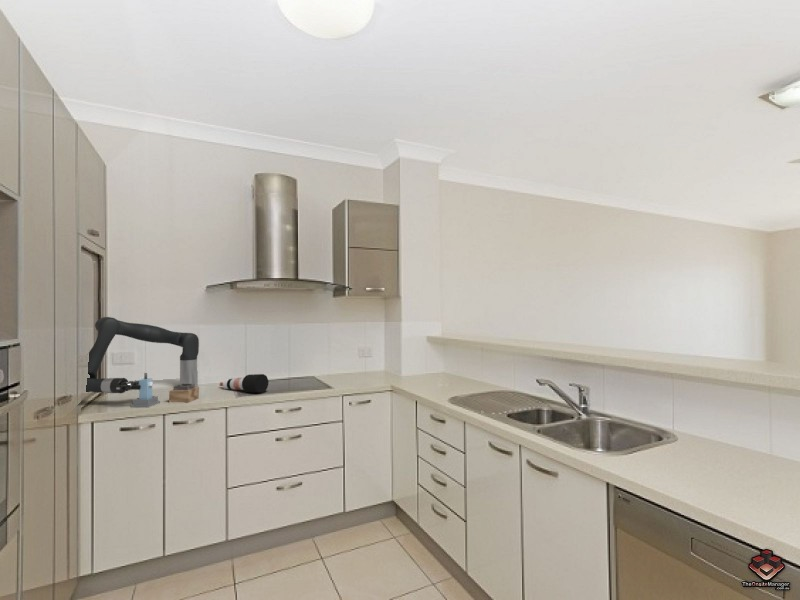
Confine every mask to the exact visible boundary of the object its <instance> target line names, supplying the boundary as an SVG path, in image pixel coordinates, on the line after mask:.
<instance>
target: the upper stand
mask: <svg viewBox="0 0 800 600" xmlns="http://www.w3.org/2000/svg"><path fill="white" fill-rule="evenodd" d="M199 390H200V388H199V386H197V387H195V384H180V383H179V384H177V385H176V384H175V385H174V386H173V389H170V390H169V391H168V393H169V394H168V397H169V398H168V399H169V400H168V402H185V403H187V404H188V402H189V403H190V402H193V401H196V400H197V399H199V397H200V396H199V395H200V393H199Z"/></svg>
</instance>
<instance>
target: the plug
mask: <svg viewBox="0 0 800 600" xmlns="http://www.w3.org/2000/svg"><path fill="white" fill-rule="evenodd" d="M138 381H139V385H140V386H141V389H140V390H138V398H139V399H150V398H152V396H153V386H154V382H153V378H150V377H149V378H148V372H144V378H141V379H139V380H138Z"/></svg>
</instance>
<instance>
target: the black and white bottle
mask: <svg viewBox="0 0 800 600" xmlns="http://www.w3.org/2000/svg"><path fill="white" fill-rule="evenodd" d="M219 386H220V387H223V389H225V390H233V391H235V390H236V391H244V392H245V393H250V394H251V393H253V394H254V393H264V392H265V391H266V390H267V389H268V387H269V379H268V376H267V375H266V374H264V373H257V374H256V373H255V374H253V373H252V374H247V375H245V376H243V377H236V378H234V377H233V378H226V379H224V380H223V381H222V382H219Z"/></svg>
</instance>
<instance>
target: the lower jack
mask: <svg viewBox="0 0 800 600" xmlns="http://www.w3.org/2000/svg"><path fill="white" fill-rule="evenodd" d="M160 403H161V400H159V396H157V395H152V398H150V399H139V397H136V398H134V399H133V400H132V404H131V405H130V408H151V407H153V406H156V405H157V404H160ZM155 404H156V405H155ZM152 405H153V406H152ZM150 406H151V407H150Z"/></svg>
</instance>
